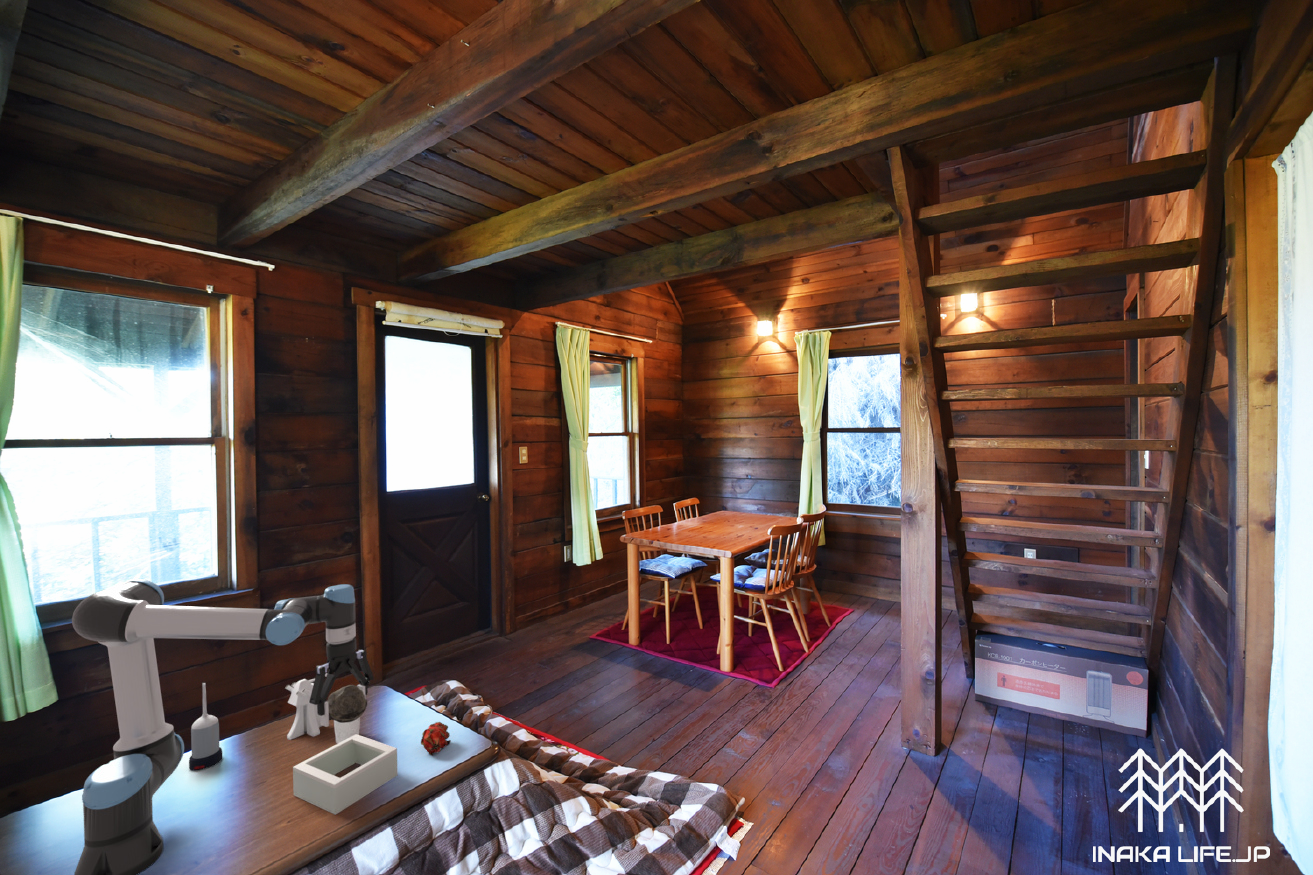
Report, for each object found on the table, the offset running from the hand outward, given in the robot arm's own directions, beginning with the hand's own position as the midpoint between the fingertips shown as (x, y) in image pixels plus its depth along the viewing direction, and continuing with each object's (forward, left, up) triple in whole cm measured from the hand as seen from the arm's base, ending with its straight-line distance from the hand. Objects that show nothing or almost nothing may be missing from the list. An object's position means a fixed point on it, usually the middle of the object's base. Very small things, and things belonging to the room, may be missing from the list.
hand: (343, 716), depth 159 cm
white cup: (+16, +24, -20) cm, 36 cm away
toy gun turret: (+14, +42, -20) cm, 49 cm away
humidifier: (-12, +52, -20) cm, 57 cm away
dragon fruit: (+24, -9, -20) cm, 33 cm away
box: (0, 0, -20) cm, 20 cm away
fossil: (0, -1, -1) cm, 1 cm away
